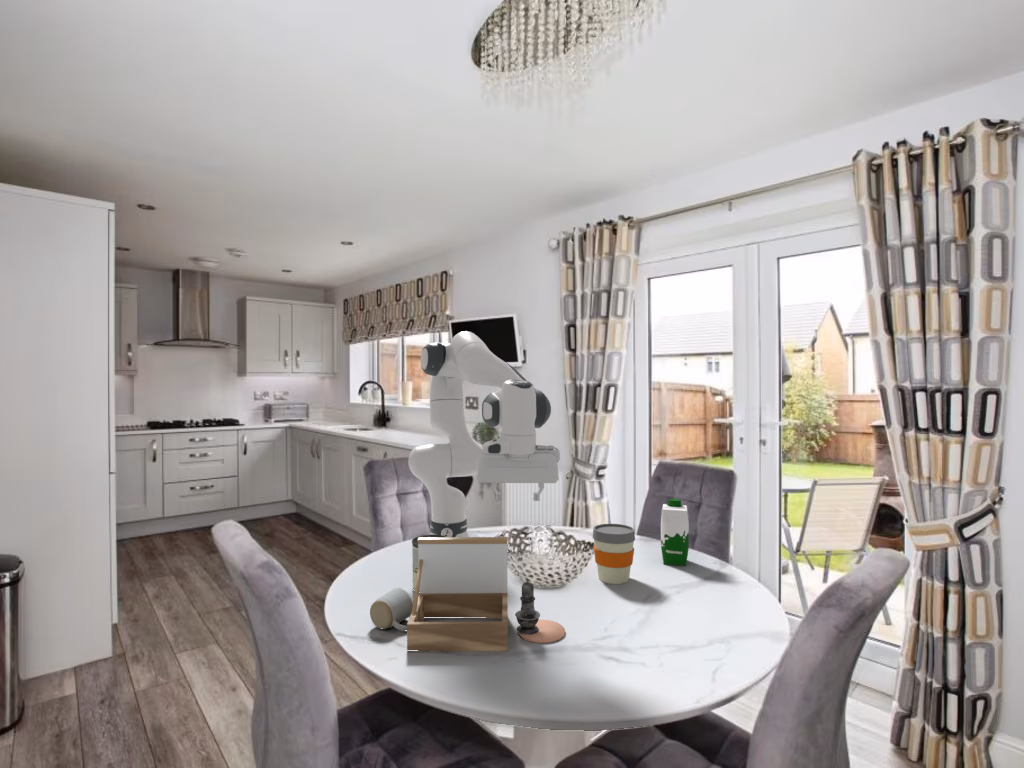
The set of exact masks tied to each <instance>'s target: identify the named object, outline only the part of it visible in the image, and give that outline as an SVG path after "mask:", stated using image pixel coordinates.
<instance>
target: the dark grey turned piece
mask: <svg viewBox="0 0 1024 768" xmlns="http://www.w3.org/2000/svg"><path fill="white" fill-rule="evenodd" d="M529 581H530V579H528V578H527V579H526V581H525V582H523V583H522V584H521V596H520V597H519V600H520V601H521V602H520V605H521V606H520V610H518V611H516V612H515V613H514V615H515V617H516V621H517V623H518V624H519V625H518V626H517V627H516V632H517V634H518V633H520V634H524V635H532V634H535V633H537V632H538V631H539V628H538V627H537V626H535V625H536V624H537V622H538V620H540V619H539V618H540V617H541V613H540V612H539V611H538V610H536V609H535V600H536V597H535V596H534V593H535V592H534V589H535V587H534V584H533V583H532V582H529Z"/></svg>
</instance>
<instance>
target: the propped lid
mask: <svg viewBox="0 0 1024 768" xmlns="http://www.w3.org/2000/svg"><path fill="white" fill-rule="evenodd" d="M418 537H419V536H418ZM418 557H419V565H418V572H417V579H416V586H415V592H413V593H414V594H413V600H412V603H413V607H412V614H411V615H412V616H414V615H416V610H417V603H418V596H419V589H420V594H425V593H507V594H508V536H482V537H481V536H470V537H419V538H418Z"/></svg>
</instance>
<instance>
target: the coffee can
mask: <svg viewBox="0 0 1024 768" xmlns="http://www.w3.org/2000/svg"><path fill="white" fill-rule="evenodd" d="M419 537H446V536H442V535H429V534H425V535H424V534H423V535H418V536H416V537H414V538H413V539H411V544H412V546H411V548H412V549H411V550H412V551H411V552H412V590H413V589H414V590H415V586H416V579H417V572H418V565H419V557H418V538H419ZM419 592H420V589H419Z"/></svg>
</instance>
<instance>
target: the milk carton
mask: <svg viewBox="0 0 1024 768" xmlns="http://www.w3.org/2000/svg"><path fill="white" fill-rule="evenodd" d="M667 501H668V502H667V503H663V504H662V508H661V516H660V518H661V519H660V547H661V548H660V549H661V555H662V563H663V565H668V564H672V565H671V566H679V565H683V566H682V567H686V566H687V562H688V555H689V548H690V528H689V527H690V523H689V520H690V516H689V511H688V506H687V505H684V504H682V500H681V499H680V498H676V497H675V498H668V499H667Z"/></svg>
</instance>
